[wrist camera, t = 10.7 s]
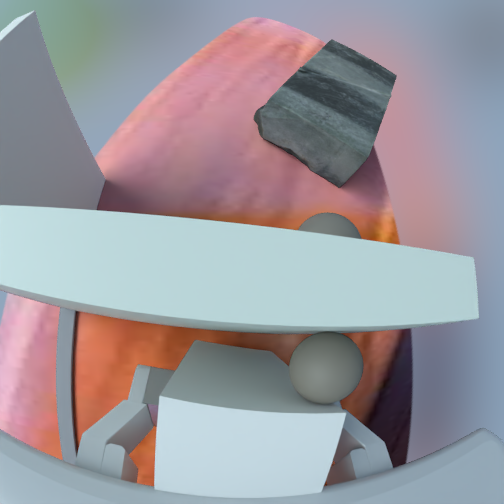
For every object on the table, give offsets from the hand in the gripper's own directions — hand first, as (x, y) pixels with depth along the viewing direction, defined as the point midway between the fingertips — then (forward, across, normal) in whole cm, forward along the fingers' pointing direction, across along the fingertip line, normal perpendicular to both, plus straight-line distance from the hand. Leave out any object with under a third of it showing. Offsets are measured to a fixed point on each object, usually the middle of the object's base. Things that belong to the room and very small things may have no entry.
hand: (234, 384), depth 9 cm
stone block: (+20, -7, -10) cm, 23 cm away
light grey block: (+2, 0, +4) cm, 4 cm away
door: (+6, +4, +2) cm, 7 cm away
